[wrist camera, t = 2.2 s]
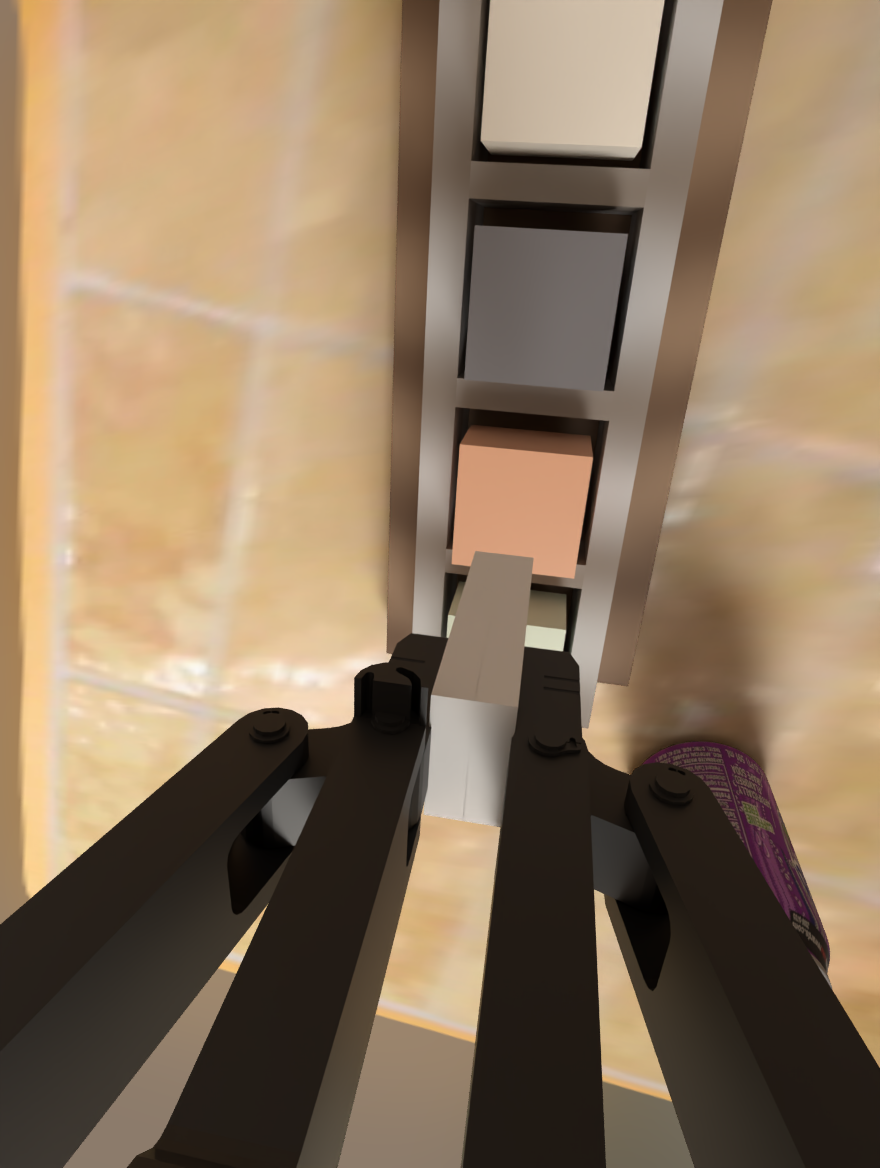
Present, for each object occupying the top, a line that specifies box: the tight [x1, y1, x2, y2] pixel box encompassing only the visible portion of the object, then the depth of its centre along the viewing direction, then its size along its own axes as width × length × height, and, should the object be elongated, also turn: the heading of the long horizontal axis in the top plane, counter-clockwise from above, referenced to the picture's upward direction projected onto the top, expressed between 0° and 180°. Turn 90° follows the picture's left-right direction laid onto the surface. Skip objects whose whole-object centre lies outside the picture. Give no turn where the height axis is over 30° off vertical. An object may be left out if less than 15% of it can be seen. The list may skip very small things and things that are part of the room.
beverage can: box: [642, 741, 832, 989], centre depth 32 cm, size 7×7×12 cm
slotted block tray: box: [387, 0, 772, 728], centre depth 27 cm, size 28×12×6 cm, turn 177°
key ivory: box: [481, 0, 665, 161], centre depth 19 cm, size 4×4×3 cm
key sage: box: [447, 581, 566, 651], centre depth 28 cm, size 4×4×3 cm
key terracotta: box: [452, 425, 593, 579], centre depth 25 cm, size 4×4×3 cm
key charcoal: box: [464, 225, 628, 392], centre depth 22 cm, size 4×4×3 cm
